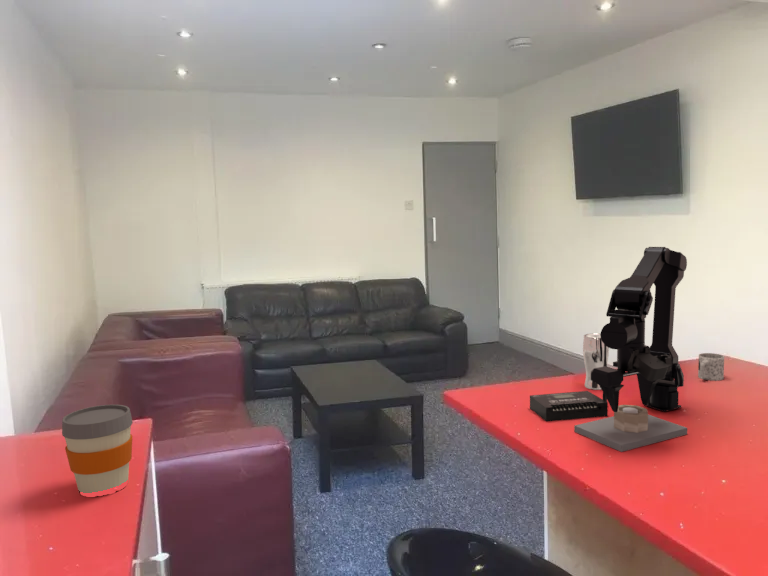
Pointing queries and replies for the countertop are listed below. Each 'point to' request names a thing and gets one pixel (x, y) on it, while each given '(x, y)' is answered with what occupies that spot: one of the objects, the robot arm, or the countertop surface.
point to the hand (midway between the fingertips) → (630, 408)
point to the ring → (631, 419)
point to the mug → (711, 366)
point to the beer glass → (593, 357)
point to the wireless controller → (569, 404)
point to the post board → (629, 440)
